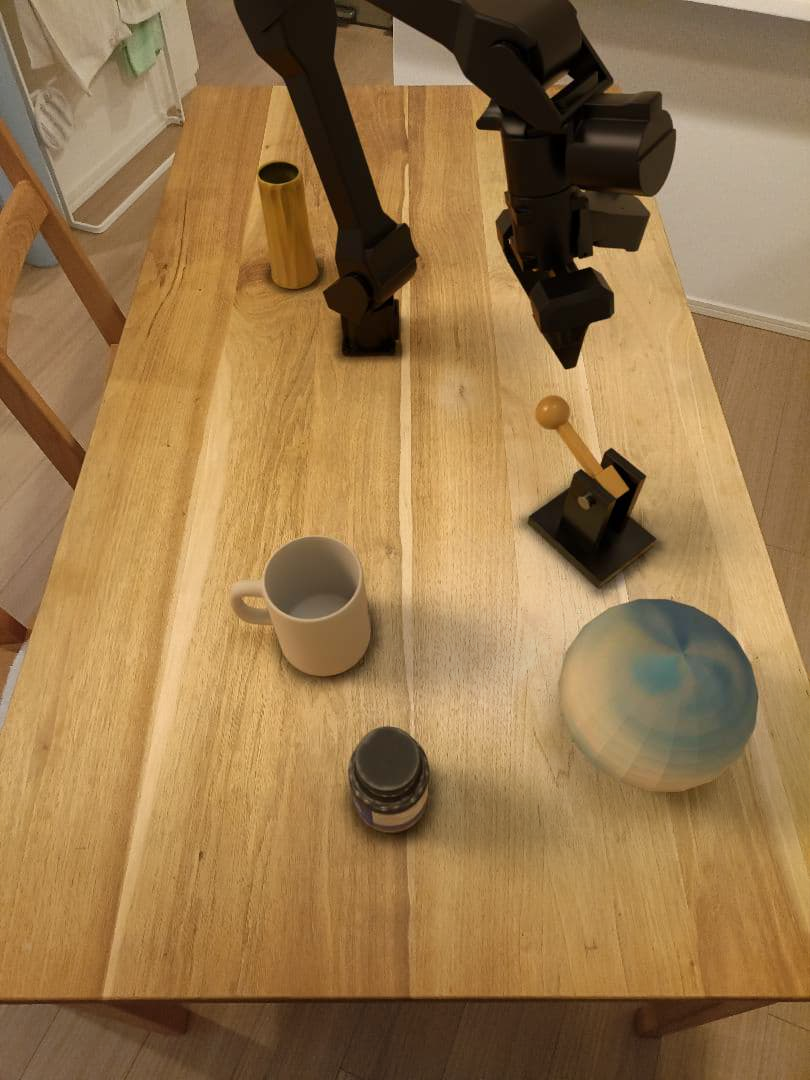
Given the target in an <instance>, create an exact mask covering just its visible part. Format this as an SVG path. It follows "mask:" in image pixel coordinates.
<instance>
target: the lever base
mask: <svg viewBox="0 0 810 1080" xmlns="http://www.w3.org/2000/svg"><path fill="white" fill-rule="evenodd" d="M599 464H600V465H601V467H602V468H603V470H604V469H606V468H607V467H609V466H610V465H612V466H613V467H614V469H615V470H616V471H617V473H618V474H619V475H620V477H621V478H622V480H623V481H624V482H625V484H626V485H627V487H628V488H629V490H628V491H627V492H625V493H624V494H623V495H621V496H620V497H619V498H617V499H616V498H615V497H614V496H613V495H612V494H611V493H609V492H608V491H607V490H606V489H605V488H603V487H602V486H601V485H600V484H599V483H598V482H596V481H595V480H594V479H593V478H592V477H590V476H589V475H588V474H587V473H586V472H585V470H584V469H583V468H579V469H578V470H577V471H575V472H574V473H573V474H572V478H571V482H570V485H569V486H568V488H566V489H565V490H564V491H562V492H560V493H559V494H558V495H557V496H555V497H554V498H552V499H550V501H548V502H547V503H546V504H544V505H543V506H541V507H540V508H539V509H537V510H536V511H534V512H532V513H531V514H530V515H528V517H527V524H528V525H529V526H530V527H531V528H532V529H533V530H534V531H535V532H536V533H537V534H539V536H541V537H542V538H543V540H545V541H546V542H547V543H548V544H549V545H550V546H551V547H553V548H554V549H555V550H556V551H557V552H558V553H559V554H560V555H561V556H562V557H563V558H564V559H566V561H568V562H569V563H570V564H571V565H572V566H573V567H574V568H575V569H576V570H577V571H579V572H580V573H581V574H582V576H584V577H585V578H586V579H587V580H588V581H589V582H590V583H591V584H592V585H593V586H595V587H596V589H600V588H601V587H603V586H604V585H606V584H607V583H608V582H609V581H611V580H612V579H613V578H614V577H615V576H617V575H618V574H619V573H620V572H622V571H623V570H624V569H625V568H627V567H628V566H630V565H631V564H632V563H633V562H634V561H636V560H637V559H639V558H640V557H641V556H642V555H643V554H645V553H646V552H647V551H648V550H650V549H651V548H652V547H654V545H655V543H656V541H657V538H656V536H654V535H653V534H652V533H651V532H649V531H648V530H647V529H646V528H644V527H643V526H642V525H641V524H640V523H639V522H637V521H636V520H635V519H634V518H633V517H632V516H631V515H632V513H633V511H634V508H635V506H636V503H637V501H638V498H639V497H640V493H641V491H642V488H643V487H644V485H645V481H646V480H647V477H648V476H647V475H646V474H645V473H644V472H642V470H640V469H639V468H637V466H635V465H634V464H633V463H632V462H630V461H629V460H628V459H627V458H625V457H624V456H623V455H621V453H619V452H618V451H617V450H615V449H614V448H613V447H609V448H608V449H607V450H605V451H604V452H603V455H602V458H601V461H600V463H599Z"/></svg>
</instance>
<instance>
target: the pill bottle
mask: <svg viewBox="0 0 810 1080" xmlns="http://www.w3.org/2000/svg"><path fill="white" fill-rule="evenodd" d="M429 764H430V763H429V760H428V757H427V754H426V752H425V750H424V749H423V747H422V746H421V745H420V744H419V742H418V741H417V740H416V739H415V738H413V737H412V735H411V734H409V733H408V732H407V731H406V730H403V729H401V728H399V727H396V726H390V725H387V726H385V725H384V726H379V727H377V728H374V729H372V730H370V731H369V732H368V733H366V734H365V735H364V736H363V737H362V738H361V740H360V741H359V742H358V745H357V746H356V747H355V748H354V750H353V752H352V754H351V756H350V758H349V762H348V769H347V773H348V782H349V786H350V790H351V793H352V798H353V802H354V804H355V808H356V809H355V810H356V812H357V814H358V815H359V816H360V818H361V819H362V820H363V821H364V823H366V824H367V826H368V827H369V828H371V829H372V830H375V831H377V832H380V833H383V834H398V833H399V834H400V833H403V832H405V831H407V830H409V829H411V828H412V827H413V826H414V825H415V824H416V823H417V822H418V821H419V820H420V819H421V818H422V817H423V815H424V813H425V810H426V807H427V803H428V797H429V785H430V765H429Z"/></svg>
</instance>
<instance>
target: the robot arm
mask: <svg viewBox="0 0 810 1080" xmlns="http://www.w3.org/2000/svg"><path fill="white" fill-rule="evenodd" d="M364 1H365V2H367V3H368V4H370V5H372V6H373V7H375V8H376V9H379V10H381V11H382V12H384V13H385V14H388V15H389V16H391V17H392V18H395V19H396V20H398V21H399V22H401V23H402V24H405V25H406V26H408V27H409V28H412V29H413V30H415V31H416V32H419V33H421V34H422V35H424V36H426V37H427V38H429V39H431V40H433V41H434V42H436V43H438V44H439V45H441V46H443V47H444V48H445V49H446V50H447V51H449V52H450V53H451V54H452V55H453V57H454V59H455V60H456V63H457V64H458V66H459V68H460V71H461V73H462V74H463V76H464V77H465V78H466V79H467V80H468V82H470V83H471V84H472V85H473V86H474V87H476V88H477V89H478V90H479V91H481V92H482V93H483V94H484V95H486V97H488V98H489V99H490V100H489V103H488V105H487V107H486V109H485V110H484V111H483V113H482V114H481V115H480V116H479V118H478V119H477V120H476V121H475V126H476V129H477V130H480V131H490V132H494V131H495V132H499V133H500V141H501V148H502V156H503V163H504V164H503V165H504V171H505V179H506V186H507V190H506V191H504V192H503V196H504V202H505V203H504V204H505V205H506V207H507V208H505V209H502V211H501V212H500V214H499V215H498V216H497V218H496V219H495V223H494V224H495V230H496V235H497V240H498V242H499V245H500V247H501V250H502V253H503V255H504V257H505V260H506V261H507V263H508V265H509V267H510V269H511V270H512V272H513V274H514V276H515V277H516V279H517V281H518V282H519V284H520V286H521V287H522V289H523V291H524V292H525V294H526V296H527V298H528V300H529V303H530V308H531V312H532V314H531V315H532V318H533V320H534V322H535V324H536V327H537V329H538V331H539V333H540V334H541V335H542V336H543V338H544V340H545V341H546V343H547V345H549V347H550V349H551V350H552V352H553V353H554V355H555V357H556V358H557V360H558V361H559V363H560V364H561V366H562V367H563V369H564V370H566V371H567V370H570V369H574V368H576V367H577V365H578V362H579V359H580V356H581V351H582V348H583V344H584V340H585V337H586V335H587V332H588V329H589V327H590V325H592V324H593V323H597V322H601V321H605V320H608V319H611V317H613V316H614V314H615V293H614V291H613V289H612V288H611V286H610V285H609V283H608V281H607V280H606V278H605V276H604V275H603V273H601V272H600V271H598V270H596V269H595V268H593V267H592V266H587V267H585V268H584V267H583V268H579V267H578V266H577V264H576V262H575V260H574V259H576V258H578V260H582V259H583V260H584V259H587V258H590V257H594V247H595V248H602V249H614V250H615V249H617V250H625V252H627V253H628V252H629V253H634V252H635V253H636V252H638V251H639V250H640V247H641V244H642V241H643V238H644V235H645V232H646V229H647V226H648V224H649V220H650V218H651V212H650V210H649V209H648V208H647V207H646V206H645V204H644V203H643V202H642V200H640V198H639V197H644V198H653V197H654V196H656V195H657V194H658V193H659V192H660V191H661V190H662V188H663V187H664V185H665V183H666V181H667V179H668V176H669V174H670V172H671V169H672V166H673V161H674V158H675V152H676V146H677V145H676V144H677V129H676V128H674V121H673V118H672V115H671V114H670V112H669V111H668V110H666V109H665V108H663V94H662V92H661V91H658V90H645V91H644V90H643V91H640V92H635V93H619V92H617V93H616V92H614V93H613V92H607V91H608V90H609V89H610V88H612V87H613V85H614V77H613V76H612V75H611V73H610V71H609V69H608V68H607V67H606V65H605V63H604V62H603V61H602V60H603V59H601V57H600V56H599V54H598V53H597V51H596V50H595V48H594V47H593V45H592V44H591V42H590V40H589V39H588V37H587V36H586V35H585V33H584V31H583V29H582V28H581V25H580V22H579V19H578V11H577V8H576V7H575V6H574V5H573V3H572V2H571V1H570V0H364ZM232 2H233V6H234V9H235V12H236V14H237V17H238V19H239V21H240V24H241V25H242V28H243V29H244V31H245V33H246V35H247V38H248V40H249V42H250V44H251V46H252V48H253V50H254V52H255V54H256V55H257V56H258V57H259V58H260V59H261V60H262V61H263V62H265V63H266V64H267V65H268V67H270V68H271V69H272V70H273V71H274V72H275V73H276V74H277V75H279V76H280V78H282V80H283V82H284V84H285V87H286V89H287V92H288V95H289V97H290V101H291V103H292V105H293V108H294V111H295V114H296V117H297V119H298V123H299V125H300V128H301V130H302V133H303V136H304V138H305V141H306V144H307V147H308V149H309V153H310V155H311V158H312V160H313V163H314V165H315V168H316V170H317V174H318V176H319V179H320V183H321V185H322V187H323V190H324V192H325V195H326V197H327V201H328V203H329V207H330V209H331V212H332V215H333V217H334V220H335V222H336V226H337V235H336V243H335V252H334V261H335V266H336V270H337V274H338V279H336V280H335V281H334V282H332V284H330V285H329V286H328V287H327V288H325V289H324V290H323V291H322V295H323V298H324V299H325V303H326V305H327V307H328V309H329V310H331V311H333V312H335V313H337V314H339V316H340V317H339V318H340V325H341V335H342V337H341V338H342V339H341V354H342V355H343V356H347V357H349V356H350V357H351V356H358V357H359V356H361V357H362V356H395V354H396V353H397V341H400V339H401V321H400V319H401V316H400V300H399V299H398V298H395V294H397V292H398V291H399V290H400V289H402V288H403V287H404V286H405V285H407V284H408V283H409V282H410V281H411V280H412V279H413V278H414V276H415V274H416V272H417V271H418V261H417V259H418V258H419V257H420V254H419V252H418V250H417V249H416V246H415V245H414V242H413V237H412V232H411V228H410V226H409V225H408V224H407V222H401V223H398V222H397V221H395V219H393V218H392V217H391V216H390V215H388V213H386V212H385V210H384V209H383V207H382V205H381V201H380V198H379V195H378V192H377V189H376V186H375V182H374V180H373V176H372V173H371V170H370V168H369V164H368V161H367V157H366V155H365V152H364V149H363V146H362V142H361V140H360V136H359V133H358V130H357V127H356V124H355V121H354V117H353V115H352V111H351V108H350V106H349V105H350V104H349V102H348V98H347V96H346V92H345V89H344V87H343V83H342V79H341V78H340V74H339V71H338V67H337V65H336V60H335V50H336V42H337V41H336V40H337V31H338V23H339V22H338V21H339V17H338V12H337V7H336V2H335V0H232ZM566 76H568V77H570V78H571V79H572V80H571V82H569V83H567V84H566V85H565V86H564V87H563V88H562V89H560V90H559V91H558V92H557V93H555V94H553V96H552V97H550V96H549V94H548V93H547V90H549V89H550V88H552V86H554V85H555V84H556V83H558V82H559V81H560V80H561V79H563V78H564V77H566Z"/></svg>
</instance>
